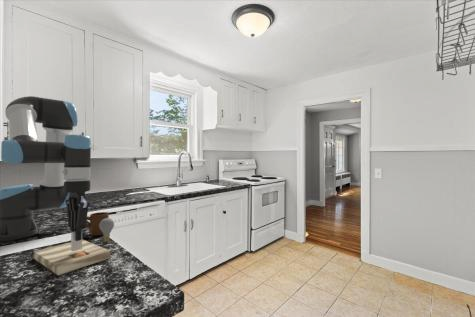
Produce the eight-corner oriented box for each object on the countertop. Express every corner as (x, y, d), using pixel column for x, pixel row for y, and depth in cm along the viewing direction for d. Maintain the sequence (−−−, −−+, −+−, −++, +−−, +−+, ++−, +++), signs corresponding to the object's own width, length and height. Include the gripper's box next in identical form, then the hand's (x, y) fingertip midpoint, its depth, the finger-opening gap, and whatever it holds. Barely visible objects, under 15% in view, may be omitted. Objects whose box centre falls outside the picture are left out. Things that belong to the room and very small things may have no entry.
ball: (74, 252, 74) (77, 262, 73) (86, 249, 77) (89, 258, 75) (71, 256, 75) (73, 266, 74) (82, 253, 78) (85, 262, 77)
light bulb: (117, 240, 97) (117, 217, 97) (105, 245, 92) (106, 220, 92) (107, 239, 99) (107, 216, 99) (95, 243, 94) (96, 219, 94)
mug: (79, 239, 99) (79, 217, 99) (77, 235, 105) (77, 215, 105) (110, 233, 107) (110, 213, 107) (106, 230, 113) (106, 211, 113)
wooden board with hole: (33, 258, 79) (33, 251, 79) (82, 245, 91) (82, 239, 91) (58, 275, 67) (58, 266, 67) (110, 257, 79) (110, 250, 79)
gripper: (56, 180, 78) (55, 249, 78) (72, 181, 71) (71, 257, 70) (81, 178, 85) (80, 242, 84) (98, 180, 77) (97, 250, 77)
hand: (76, 249), depth 77 cm, fingers closed
